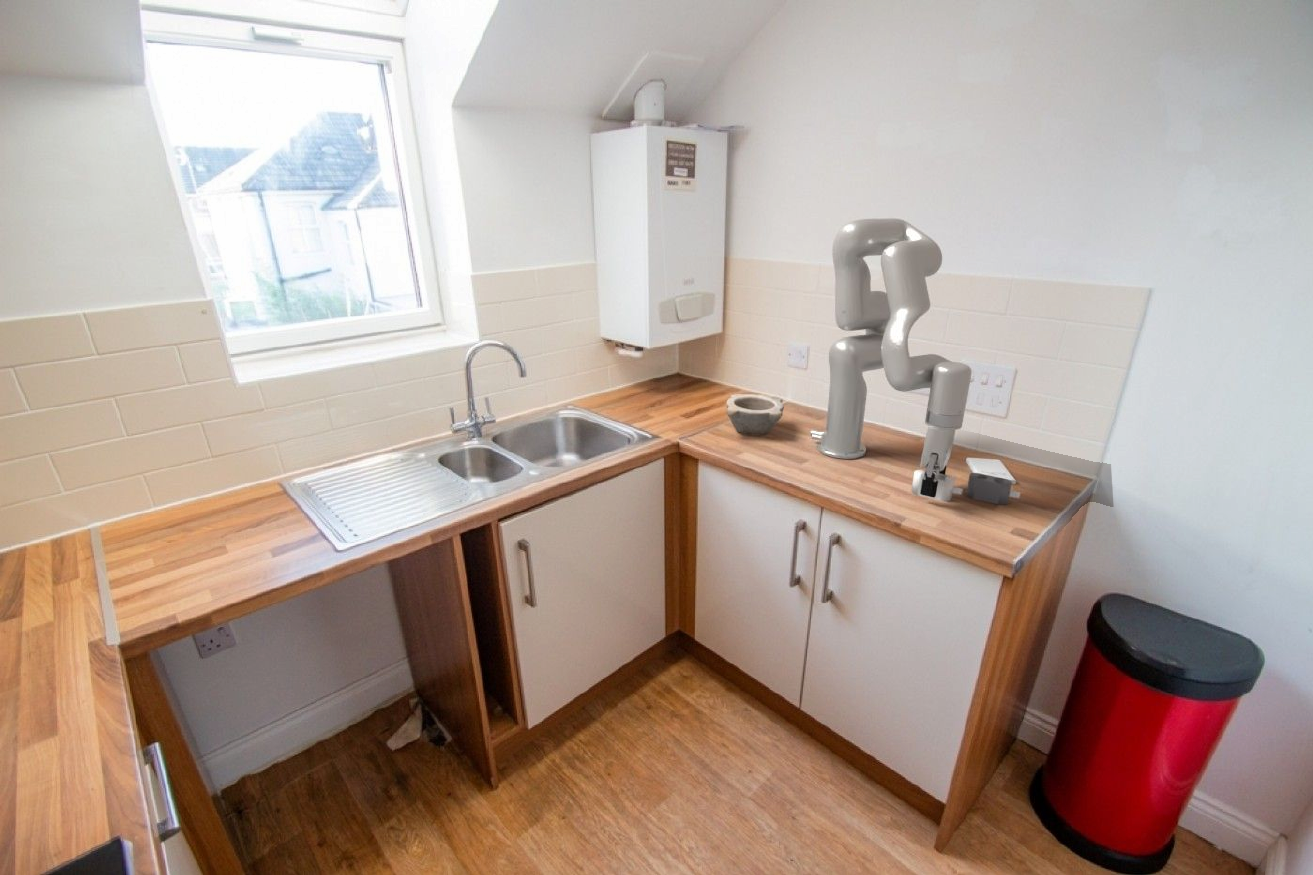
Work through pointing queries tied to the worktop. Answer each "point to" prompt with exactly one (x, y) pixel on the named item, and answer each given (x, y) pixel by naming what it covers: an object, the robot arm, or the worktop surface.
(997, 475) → the external hard drive
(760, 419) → the mortar
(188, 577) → the worktop surface
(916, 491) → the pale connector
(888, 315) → the robot arm
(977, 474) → the charcoal connector
